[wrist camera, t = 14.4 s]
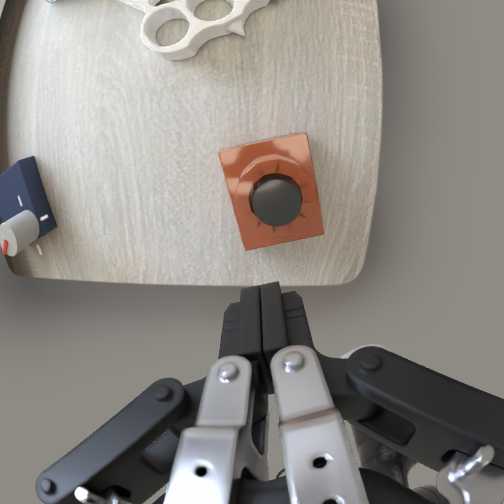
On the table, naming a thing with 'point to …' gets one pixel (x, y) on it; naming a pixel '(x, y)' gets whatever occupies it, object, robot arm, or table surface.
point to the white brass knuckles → (190, 24)
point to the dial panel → (25, 195)
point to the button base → (265, 165)
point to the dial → (18, 232)
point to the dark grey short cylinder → (276, 201)
